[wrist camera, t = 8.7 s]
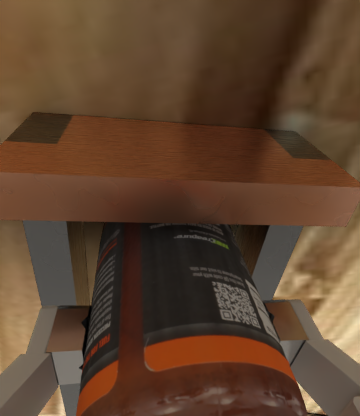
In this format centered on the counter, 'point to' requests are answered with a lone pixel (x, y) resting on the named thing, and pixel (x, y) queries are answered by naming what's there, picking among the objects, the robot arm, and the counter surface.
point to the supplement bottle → (180, 329)
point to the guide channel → (162, 192)
